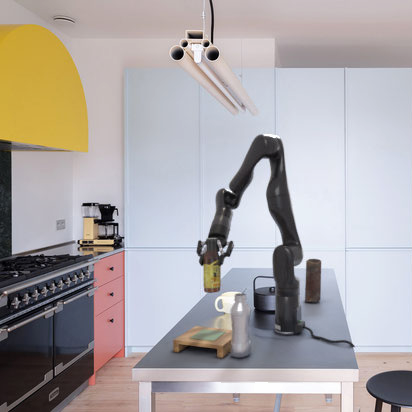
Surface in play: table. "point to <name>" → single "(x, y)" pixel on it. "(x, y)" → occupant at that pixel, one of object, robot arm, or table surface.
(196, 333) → the wooden stand
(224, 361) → the table surface
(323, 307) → the table surface
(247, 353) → the plastic bottle
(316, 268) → the rusty brown cylinder
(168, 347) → the table surface
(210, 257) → the sauce bottle
